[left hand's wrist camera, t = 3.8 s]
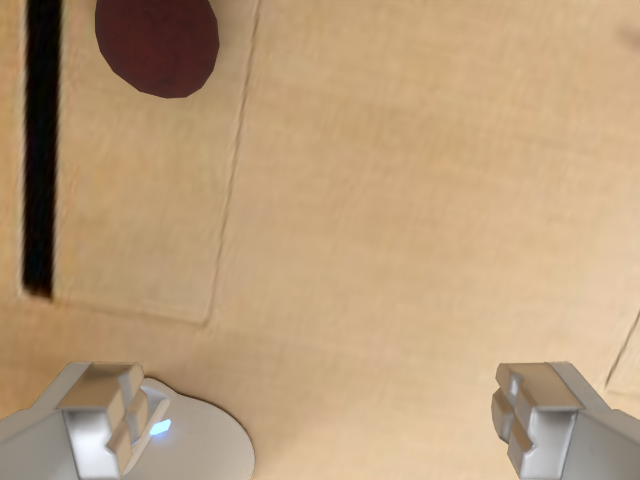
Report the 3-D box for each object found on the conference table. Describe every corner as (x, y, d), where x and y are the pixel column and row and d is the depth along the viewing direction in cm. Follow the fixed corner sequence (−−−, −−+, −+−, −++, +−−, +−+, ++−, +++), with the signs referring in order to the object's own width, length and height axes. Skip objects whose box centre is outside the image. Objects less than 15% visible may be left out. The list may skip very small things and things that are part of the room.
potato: (205, -41, 30) (172, -72, 23) (244, 80, 32) (225, 82, 26) (102, -6, 31) (42, -26, 24) (149, 110, 33) (106, 120, 27)
